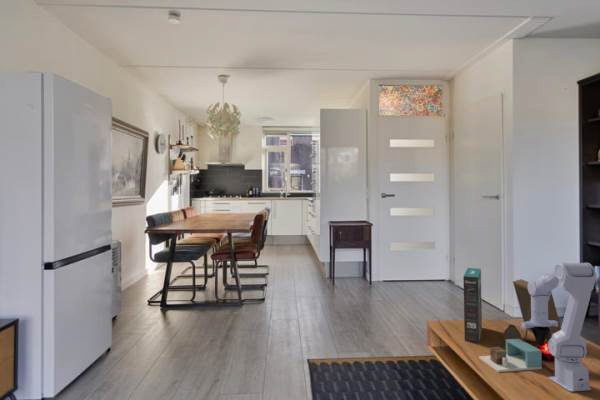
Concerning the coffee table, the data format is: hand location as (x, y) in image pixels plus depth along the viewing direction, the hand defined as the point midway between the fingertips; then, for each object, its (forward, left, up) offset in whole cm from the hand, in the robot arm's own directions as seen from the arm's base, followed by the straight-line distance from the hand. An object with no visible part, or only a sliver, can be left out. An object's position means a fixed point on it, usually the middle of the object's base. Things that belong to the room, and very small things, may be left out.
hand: (540, 344), depth 144 cm
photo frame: (+22, -15, -7) cm, 27 cm away
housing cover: (0, +8, -7) cm, 10 cm away
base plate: (0, +14, -7) cm, 15 cm away
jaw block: (0, +18, -6) cm, 19 cm away
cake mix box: (+31, +9, -7) cm, 33 cm away
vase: (+16, 0, -7) cm, 17 cm away
